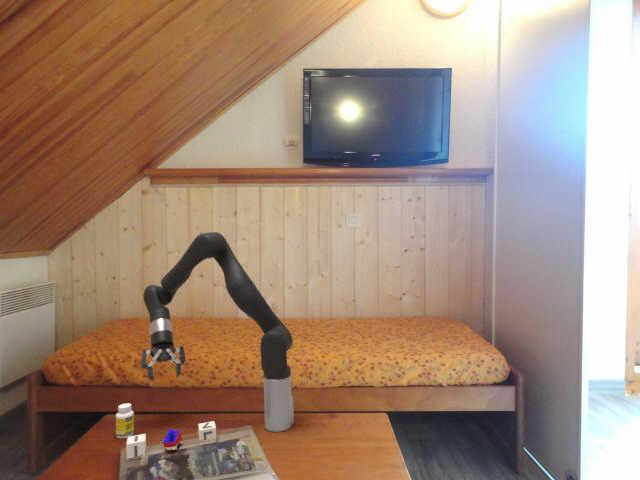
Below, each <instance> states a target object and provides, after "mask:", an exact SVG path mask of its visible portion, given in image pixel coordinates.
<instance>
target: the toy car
mask: <svg viewBox="0 0 640 480" xmlns="http://www.w3.org/2000/svg"><path fill="white" fill-rule="evenodd" d="M165 435H166V436H165V437H164V439H163V441H162V444H163V447H164V448H165V447H172V446H173V447H174V446H176V445H177V444H178V443H179V442H180V441H182V440H183V438H182V435H181V431H180V430H174V429H173V428H169V429H168V430H167V433H166V434H165Z"/></svg>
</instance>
